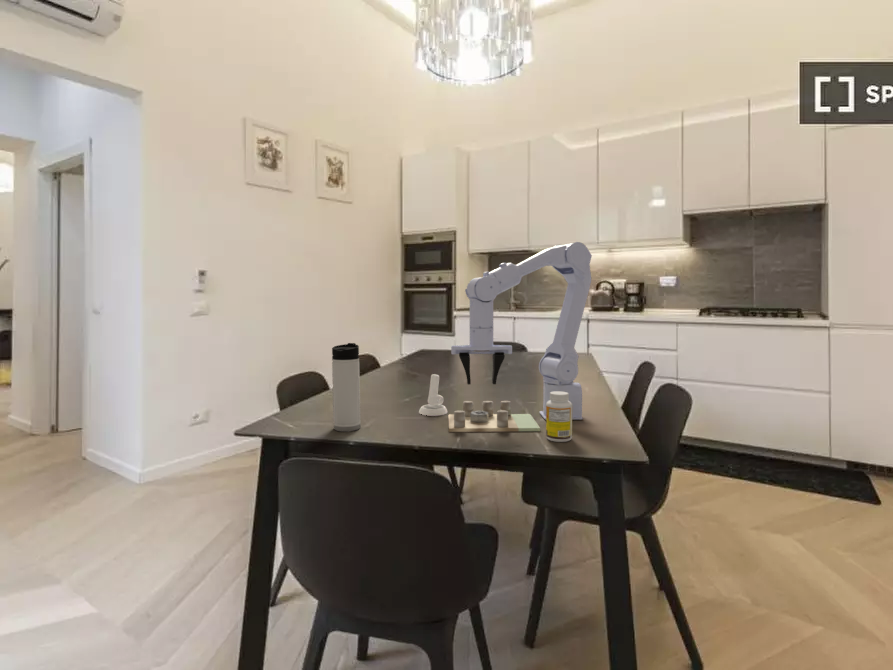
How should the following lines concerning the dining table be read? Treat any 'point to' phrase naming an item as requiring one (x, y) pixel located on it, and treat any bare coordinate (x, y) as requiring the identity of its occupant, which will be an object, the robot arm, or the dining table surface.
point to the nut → (479, 416)
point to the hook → (434, 400)
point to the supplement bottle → (559, 417)
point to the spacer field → (494, 423)
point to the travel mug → (346, 387)
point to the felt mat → (525, 422)
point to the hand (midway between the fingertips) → (481, 383)
